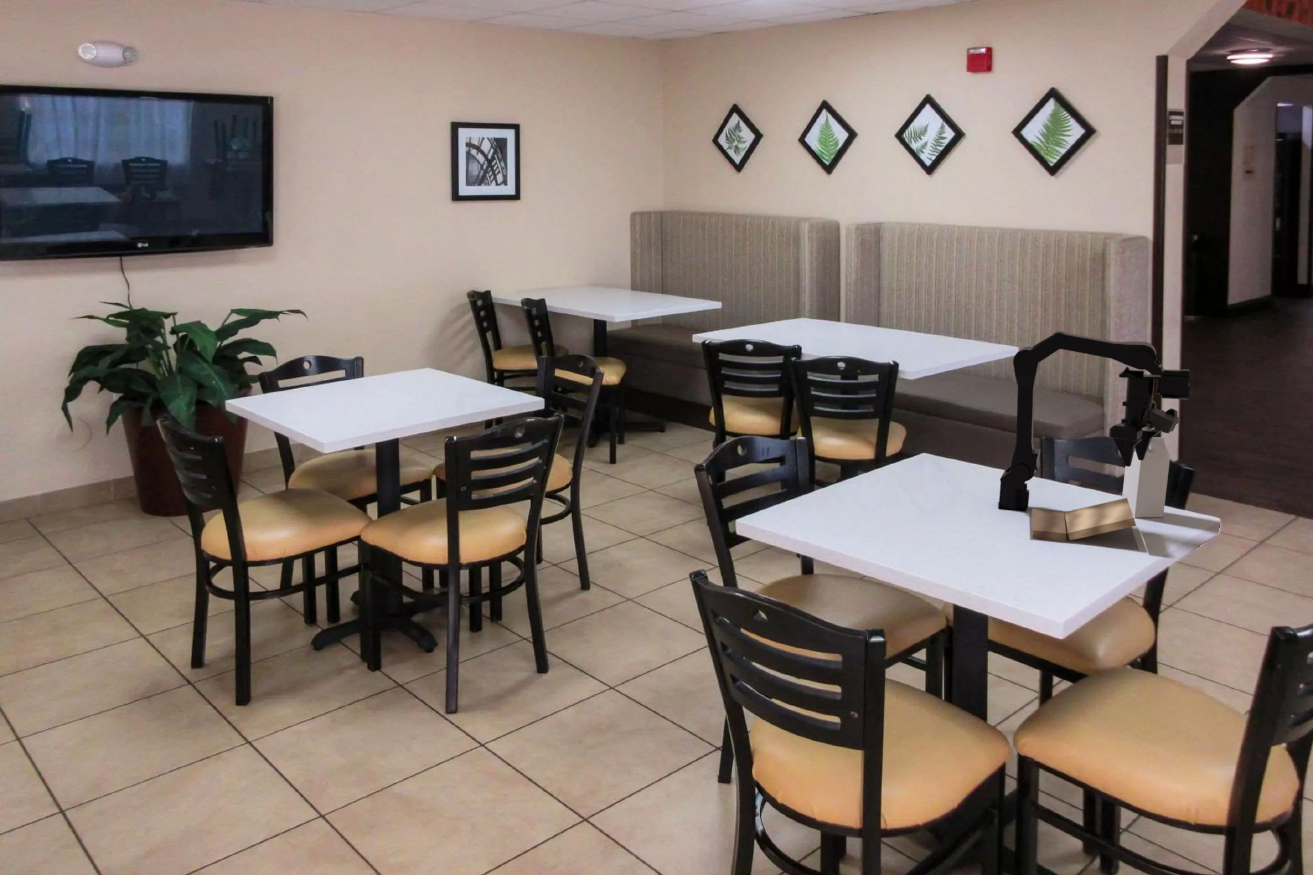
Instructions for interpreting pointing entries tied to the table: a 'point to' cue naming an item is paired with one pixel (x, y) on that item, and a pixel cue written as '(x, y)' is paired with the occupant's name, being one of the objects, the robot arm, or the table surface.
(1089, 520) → the oak plank
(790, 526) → the table surface
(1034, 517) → the walnut plank
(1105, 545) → the underlay mat
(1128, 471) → the milk carton
